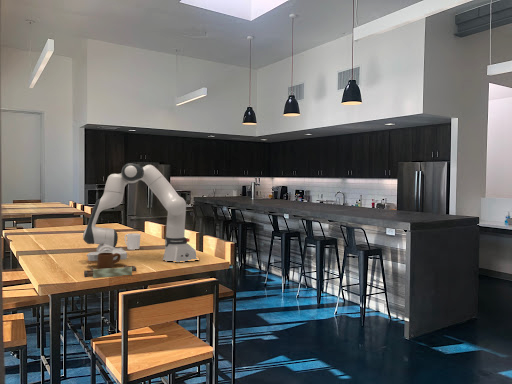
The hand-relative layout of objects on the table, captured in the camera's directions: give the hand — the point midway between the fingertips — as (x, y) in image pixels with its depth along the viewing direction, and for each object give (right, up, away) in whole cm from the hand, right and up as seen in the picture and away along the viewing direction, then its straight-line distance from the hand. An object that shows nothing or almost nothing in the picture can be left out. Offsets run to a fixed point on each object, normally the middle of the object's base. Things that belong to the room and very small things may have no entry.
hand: (109, 258), depth 219 cm
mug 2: (-7, -4, +64) cm, 65 cm away
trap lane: (+3, -6, -6) cm, 9 cm away
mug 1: (+1, -6, -3) cm, 7 cm away
